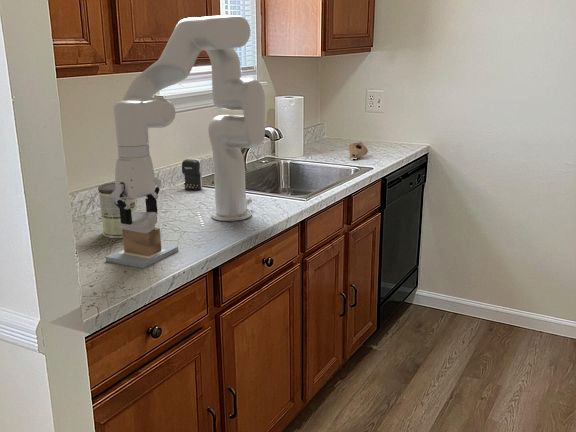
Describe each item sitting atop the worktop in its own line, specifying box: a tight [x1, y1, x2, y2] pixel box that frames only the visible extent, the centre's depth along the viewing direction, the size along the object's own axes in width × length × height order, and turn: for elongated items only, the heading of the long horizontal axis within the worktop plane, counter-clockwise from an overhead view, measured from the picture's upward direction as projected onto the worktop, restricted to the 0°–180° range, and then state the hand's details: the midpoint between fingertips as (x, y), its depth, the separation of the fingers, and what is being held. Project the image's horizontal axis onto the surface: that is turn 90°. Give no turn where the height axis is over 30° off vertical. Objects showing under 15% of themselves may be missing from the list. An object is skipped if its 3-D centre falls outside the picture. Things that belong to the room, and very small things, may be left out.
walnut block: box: [122, 227, 162, 256], centre depth 154 cm, size 5×8×6 cm, turn 62°
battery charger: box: [181, 158, 203, 191], centre depth 224 cm, size 7×4×11 cm, turn 67°
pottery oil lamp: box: [348, 141, 369, 159], centre depth 279 cm, size 9×12×7 cm
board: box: [105, 243, 179, 269], centre depth 155 cm, size 14×12×1 cm
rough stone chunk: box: [118, 210, 158, 233], centre depth 153 cm, size 10×6×6 cm, turn 56°
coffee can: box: [97, 181, 138, 239], centre depth 172 cm, size 10×10×14 cm
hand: (139, 218), depth 152 cm, fingers open, 9 cm apart
